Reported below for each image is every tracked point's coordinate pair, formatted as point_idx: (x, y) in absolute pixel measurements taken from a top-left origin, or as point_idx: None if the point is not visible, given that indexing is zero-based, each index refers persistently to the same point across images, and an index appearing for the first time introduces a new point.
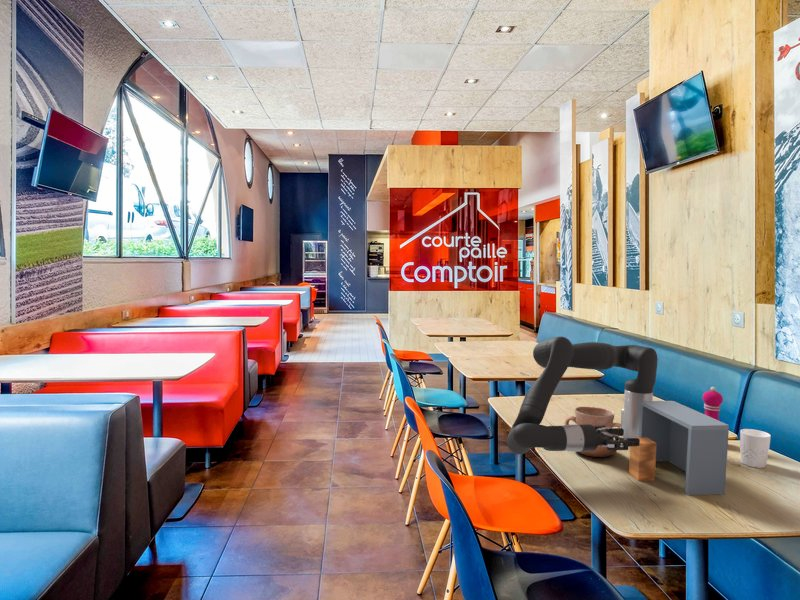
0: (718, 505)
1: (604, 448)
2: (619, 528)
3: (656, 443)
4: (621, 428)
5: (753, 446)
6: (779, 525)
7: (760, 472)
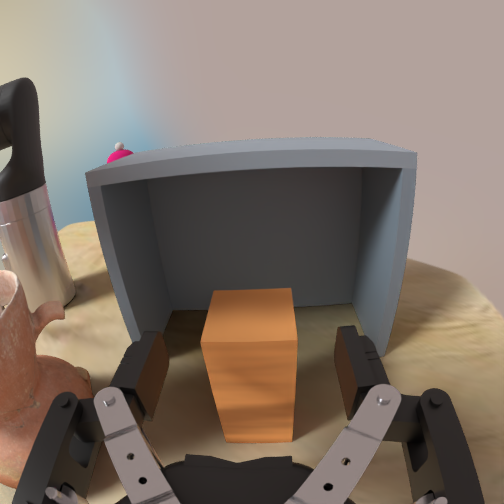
0: (420, 323)
1: None
2: None
3: (290, 289)
4: (149, 334)
5: None
6: (459, 282)
7: None
